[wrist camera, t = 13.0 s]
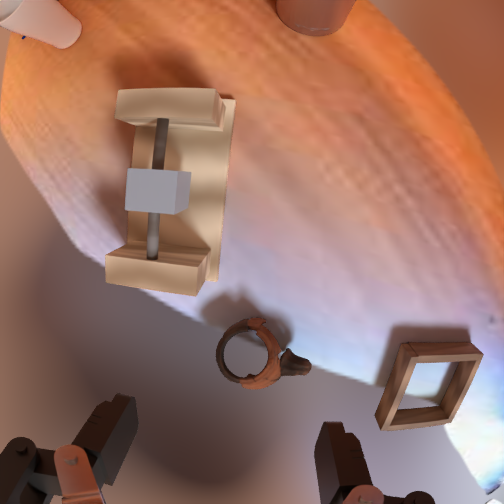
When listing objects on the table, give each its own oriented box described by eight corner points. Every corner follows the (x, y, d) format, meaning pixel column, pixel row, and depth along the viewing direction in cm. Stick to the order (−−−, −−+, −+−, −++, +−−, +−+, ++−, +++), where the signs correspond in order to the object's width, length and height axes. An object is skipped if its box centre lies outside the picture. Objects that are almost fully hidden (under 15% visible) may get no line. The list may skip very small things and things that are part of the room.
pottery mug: (229, 379, 44) (206, 387, 36) (235, 316, 46) (213, 312, 38) (311, 389, 40) (304, 401, 33) (318, 322, 42) (312, 320, 35)
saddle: (148, 169, 33) (127, 168, 27) (191, 171, 33) (177, 170, 27) (145, 204, 34) (124, 210, 28) (188, 208, 34) (174, 214, 28)
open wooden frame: (401, 342, 41) (411, 355, 37) (472, 341, 41) (484, 353, 37) (374, 415, 44) (380, 431, 40) (442, 410, 44) (450, 423, 40)
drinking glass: (95, 23, 32) (40, -20, 18) (68, 59, 33) (4, 29, 19) (70, 12, 31) (16, -26, 17) (45, 47, 33) (-15, 19, 18)
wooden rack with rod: (142, 99, 35) (111, 81, 26) (236, 101, 35) (227, 79, 26) (129, 267, 40) (98, 289, 31) (218, 279, 40) (205, 306, 31)
